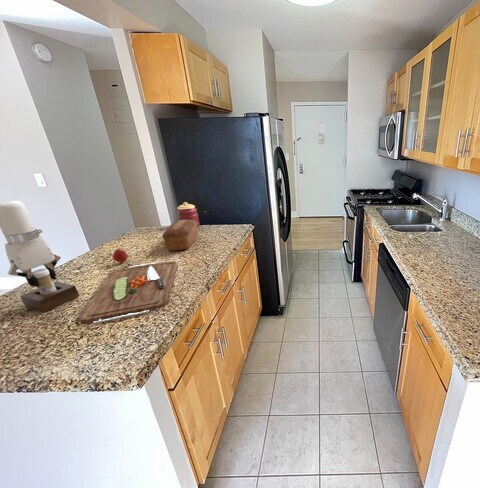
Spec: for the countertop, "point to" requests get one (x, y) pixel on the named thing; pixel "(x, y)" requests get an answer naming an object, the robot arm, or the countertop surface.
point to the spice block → (50, 297)
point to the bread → (180, 234)
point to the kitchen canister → (188, 212)
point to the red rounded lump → (120, 255)
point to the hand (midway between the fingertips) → (44, 282)
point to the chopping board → (131, 292)
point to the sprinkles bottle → (44, 281)
